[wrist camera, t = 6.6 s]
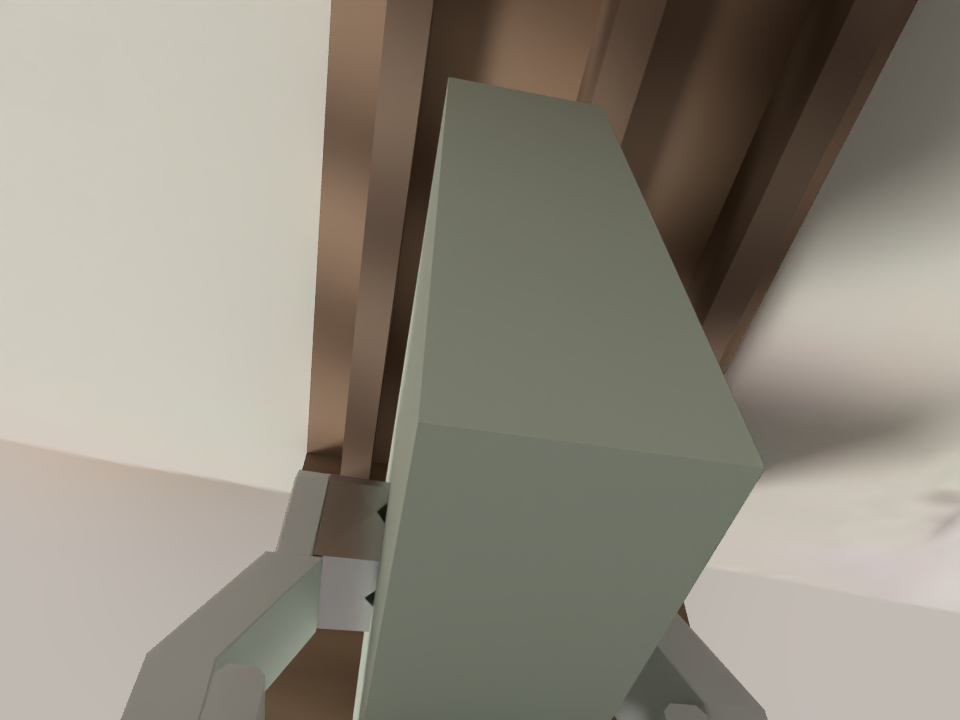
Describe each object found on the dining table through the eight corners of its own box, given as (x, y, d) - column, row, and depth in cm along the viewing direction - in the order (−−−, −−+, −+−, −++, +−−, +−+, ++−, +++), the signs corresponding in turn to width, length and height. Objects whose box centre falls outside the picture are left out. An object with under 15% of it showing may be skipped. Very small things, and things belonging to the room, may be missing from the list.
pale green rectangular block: (448, 77, 11) (419, 422, 5) (601, 106, 11) (765, 469, 5) (374, 552, 18) (323, 945, 12) (470, 563, 19) (469, 951, 12)
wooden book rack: (368, -520, 13) (54, -1375, 4) (1056, -324, 14) (2120, -551, 5) (310, 460, 29) (224, 783, 19) (642, 504, 30) (712, 822, 21)
